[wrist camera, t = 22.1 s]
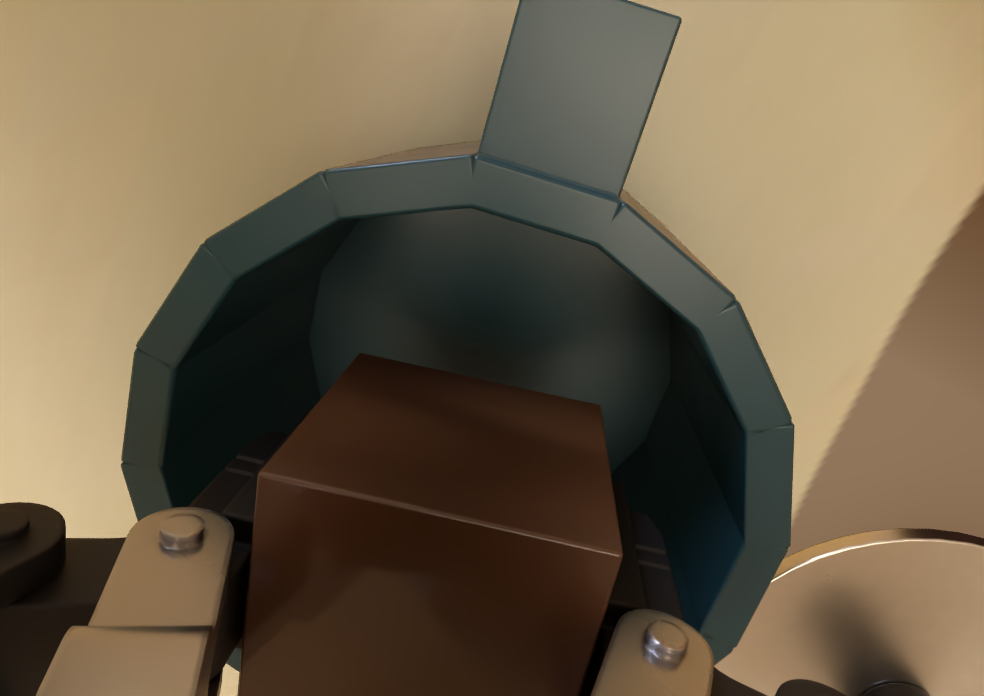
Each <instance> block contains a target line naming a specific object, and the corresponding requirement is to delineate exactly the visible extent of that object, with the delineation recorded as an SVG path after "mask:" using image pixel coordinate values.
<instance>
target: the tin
mask: <svg viewBox="0 0 984 696" xmlns="http://www.w3.org/2000/svg"><path fill="white" fill-rule="evenodd" d="M680 24H681V18H680V17H678V16H675V15H672V14H669V13H666V12H663V11H659V10H656V9H653V8H650V7H647V6H644V5H640V4H637V3H634V2H631V1H628V0H520V1H519V5H518V8H517V12H516V15H515V19H514V23H513V26H512V30H511V34H510V37H509V41H508V44H507V48H506V52H505V55H504V59H503V63H502V66H501V70H500V74H499V77H498V81H497V84H496V88H495V92H494V95H493V99H492V103H491V106H490V110H489V114H488V117H487V121H486V124H485V128H484V132H483V135H482V139H481V141H475V142H463V143H457V144H448V145H439V146H430V147H420V148H416V149H412V150H407V151H403V152H399V153H395V154H390V155H386V156H382V157H377V158H373V159H369V160H364V161H360V162H356V163H351V164H347V165H343V166H338V167H334V168H330V169H326V170H325V171H320V172H318V173H316V174H314V175H313V176H311V177H309V178H308V179H306V180H304V181H303V182H301V183H299V184H297V185H296V186H294V187H292V188H291V189H289V190H287V191H286V192H284V193H282V194H281V195H279V196H277V197H276V198H274V199H272V200H271V201H269V202H267V203H266V204H264V205H262V206H261V207H259V208H257V209H256V210H254V211H252V212H251V213H249V214H247V215H246V216H244V217H242V218H240V219H239V220H237V221H235V222H234V223H232V224H230V225H229V226H227V227H225V228H224V229H222V230H220V231H219V232H217V233H215V234H214V235H212V236H210V237H209V238H207V239H206V240H205V242H204V243H203V244H201V245H200V247H199V248H198V250H197V251H196V253H195V254H194V256H193V257H192V259H191V261H190V262H189V264H188V265H187V267H186V268H185V270H184V271H183V273H182V274H181V276H180V277H179V279H178V281H177V282H176V284H175V285H174V287H173V288H172V290H171V291H170V293H169V294H168V296H167V298H166V299H165V301H164V302H163V304H162V305H161V307H160V308H159V310H158V311H157V313H156V314H155V316H154V318H153V319H152V321H151V322H150V324H149V325H148V327H147V328H146V330H145V331H144V333H143V334H142V336H141V338H140V339H139V341H138V342H137V345H136V347H137V348H136V350H135V352H134V358H133V366H132V375H131V383H130V392H129V400H128V408H127V417H126V425H125V434H124V442H123V450H122V462H123V463H122V464H121V468H122V471H123V475H124V478H125V481H126V484H127V488H128V491H129V494H130V497H131V500H132V504H133V507H134V510H135V513H136V517H137V520H138V522H139V521H140V520H141V519H143V518H145V517H146V516H148V515H150V514H153V513H155V512H158V511H162V510H165V509H170V508H178V507H188V506H189V505H190V504H191V503H192V502H193V501H194V500H195V499H196V498H197V497H198V495H199V494H200V493H201V492H202V491H203V490H204V489H205V488H206V487H207V486H208V485H209V484H210V483H211V482H212V481H213V480H214V479H215V477H216V476H217V475H218V474H219V473H220V472H221V471H222V470H223V471H224V470H225V467H226V466H227V465H228V464H229V463H230V462H231V461H232V460H233V458H235V459H236V455H237V454H238V453H239V452H240V451H241V450H242V449H243V448H244V447H245V446H246V445H247V444H248V443H249V442H250V441H251V440H253V439H255V438H258V437H260V436H262V435H264V434H267V433H269V432H271V431H277V432H281V433H286V434H288V433H289V432H290V431H291V430H292V429H293V428H294V426H295V425H296V424H297V423H298V422H299V420H300V419H301V418H302V417H303V416H304V415H305V414H306V413H307V412H310V411H311V410H312V409H313V408H314V406H315V405H316V404H317V403H318V402H319V400H320V399H321V398H322V397H323V396H324V395H325V393H326V392H327V391H328V390H329V389H330V387H331V386H332V385H333V384H334V383H335V381H336V380H337V379H338V378H339V377H340V376H341V374H342V373H343V372H344V371H345V370H346V368H347V367H348V366H349V365H350V364H351V362H352V361H353V360H354V359H355V358H356V356H357V355H358V354H359V353H364V354H369V355H373V356H378V357H382V358H387V359H391V360H396V361H401V362H405V363H410V364H414V365H419V366H423V367H428V368H433V369H437V370H442V371H446V372H451V373H456V374H460V375H465V376H469V377H474V378H478V379H483V380H488V381H492V382H497V383H501V384H506V385H510V386H515V387H520V388H524V389H529V390H533V391H538V392H542V393H547V394H552V395H556V396H561V397H565V398H570V399H574V400H579V401H584V402H588V403H593V404H597V405H600V406H601V412H602V419H603V425H604V432H605V439H606V445H607V452H608V458H609V465H610V472H611V478H612V480H616V481H621V482H623V483H624V488H625V493H626V499H627V504H628V510H630V511H635V512H639V513H643V514H647V515H648V517H649V518H650V519H651V520H652V521H653V523H654V524H655V525H656V526H657V528H658V529H659V530H660V531H661V532H662V535H663V539H664V543H665V547H666V551H667V553H666V555H667V556H668V559H669V563H670V566H671V569H670V571H671V572H672V574H673V578H674V582H675V586H676V590H677V594H678V598H679V602H680V606H681V610H682V614H683V617H684V621H685V622H686V623H687V624H689V625H690V626H691V627H693V628H694V629H695V630H696V631H697V632H698V633H699V634H700V635H701V636H702V637H703V638H704V639H705V640H706V642H707V643H708V645H709V646H710V648H711V650H712V653H713V656H714V660H715V665H716V664H717V663H719V662H720V661H721V660H722V659H724V658H725V657H726V656H727V655H729V654H730V653H731V652H732V651H733V648H735V647H737V645H738V643H739V641H740V640H741V638H742V636H743V634H744V632H745V630H746V628H747V626H748V624H749V622H750V621H751V619H752V617H753V615H754V613H755V611H756V609H757V607H758V605H759V604H760V602H761V600H762V598H763V596H764V594H765V592H766V590H767V588H768V587H769V585H770V583H771V581H772V579H773V577H774V575H775V573H776V571H777V570H778V568H779V566H780V564H781V562H782V560H783V558H784V556H785V554H786V553H787V549H788V547H790V538H791V509H792V480H793V452H794V424H793V423H792V422H791V415H790V413H789V411H788V409H787V406H786V404H785V402H784V400H783V398H782V395H781V393H780V391H779V389H778V386H777V384H776V382H775V380H774V378H773V375H772V373H771V371H770V369H769V367H768V364H767V362H766V360H765V358H764V355H763V353H762V351H761V349H760V347H759V344H758V342H757V340H756V338H755V336H754V333H753V331H752V329H751V327H750V324H749V322H748V320H747V318H746V316H745V313H744V311H743V309H742V307H741V305H740V303H739V302H738V301H737V300H736V298H735V296H734V294H733V293H732V292H731V291H730V290H729V289H728V288H727V287H726V286H725V285H723V284H722V283H721V282H720V281H719V280H718V279H717V278H716V277H715V276H714V275H713V274H712V273H711V272H710V271H709V270H708V269H707V268H706V267H705V266H704V265H703V264H702V263H701V262H700V261H699V260H698V259H697V258H696V257H695V256H694V255H693V254H692V253H691V252H690V251H689V250H688V249H687V248H686V247H685V246H684V245H683V244H682V243H681V242H680V241H679V240H678V239H677V238H676V237H675V236H674V235H673V234H672V233H671V232H670V231H669V230H668V229H667V228H666V227H665V226H664V225H663V224H662V223H661V222H660V221H659V220H658V219H656V218H655V217H654V216H653V215H652V214H651V213H649V212H648V211H647V210H646V209H645V208H644V207H643V206H641V205H640V204H639V203H638V202H637V201H636V200H634V199H633V198H632V197H631V196H630V195H629V194H628V193H627V192H625V191H624V190H623V186H624V183H625V180H626V178H627V175H628V172H629V169H630V166H631V163H632V161H633V158H634V155H635V152H636V149H637V146H638V143H639V141H640V138H641V135H642V132H643V129H644V126H645V124H646V121H647V118H648V115H649V112H650V109H651V107H652V104H653V101H654V98H655V95H656V92H657V90H658V87H659V84H660V81H661V78H662V75H663V73H664V70H665V67H666V64H667V61H668V58H669V55H670V53H671V50H672V47H673V44H674V41H675V38H676V36H677V33H678V30H679V27H680ZM241 652H242V649H238V648H235V649H234V651H233V652H232V654H231V656H230V657H229V659H228V661H227V662H226V663H227V664H228V665H230V666H231V667H233V668H234V669H236V670H237V671H239V672H240V663H241ZM715 665H714V666H715Z"/></svg>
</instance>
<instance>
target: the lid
mask: <svg viewBox="0 0 984 696" xmlns="http://www.w3.org/2000/svg"><path fill="white" fill-rule="evenodd" d="M714 667H715V668H717V669H718V670H719V671H721V672H722V673H724V674H725V675H727V676H728V677H730V678H732V679H734V680H736V681H738V682H740V683H742V684H744V685H746V686H748V687H750V688H753V689H755V690H757V691H759V692H761V693H763V694H765V695H767V696H775V694H776V692H777V689H778V688H779V687H780V685H781V684H783V683H784V682H786V681H789V680H792V679H807V680H812V681H816V682H819V683H822V684H825V685H827V686H829V687H832V688H834V689H836V690H838V691H839V692H841V693H843V694H845V695H846V696H984V538H980V537H976V536H972V535H968V534H963V533H959V532H951V531H943V530H935V529H903V528H902V529H901V528H899V529H889V530H879V531H869V532H863V533H859V534H853V535H849V536H844V537H839V538H836V539H833V540H830V541H826V542H823V543H820V544H817V545H814V546H811V547H808V548H806V549H804V550H802V551H799V552H797V553H795V554H792V555H790V556H788V557H786V558H784V559H783V560H782V562H781V564H780V566H779V568H778V570H777V571H776V573H775V575H774V577H773V579H772V581H771V583H770V585H769V587H768V588H767V590H766V592H765V594H764V596H763V598H762V600H761V602H760V604H759V605H758V607H757V609H756V611H755V613H754V615H753V617H752V619H751V621H750V622H749V624H748V626H747V628H746V630H745V632H744V634H743V636H742V638H741V640H740V641H739V643H738V645H737V647H735V648H733V651H732V652H731V653H730V654H729V655H727V656H726V657H725V658H724V659H722V660H721V661H720V662H719V663H717V664H716V665H715V666H714Z"/></svg>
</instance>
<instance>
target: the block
mask: <svg viewBox="0 0 984 696" xmlns="http://www.w3.org/2000/svg"><path fill="white" fill-rule="evenodd" d="M622 558H623V551H622V544H621V537H620V531H619V524H618V518H617V511H616V505H615V498H614V491H613V485H612V478H611V472H610V465H609V458H608V452H607V445H606V439H605V432H604V425H603V419H602V412H601V406H600V405H597V404H593V403H588V402H584V401H579V400H574V399H570V398H565V397H561V396H556V395H552V394H547V393H542V392H538V391H533V390H529V389H524V388H520V387H515V386H510V385H506V384H501V383H497V382H492V381H488V380H483V379H478V378H474V377H469V376H465V375H460V374H456V373H451V372H446V371H442V370H437V369H433V368H428V367H423V366H419V365H414V364H410V363H405V362H401V361H396V360H391V359H387V358H382V357H378V356H373V355H369V354H364V353H359V354H358V355H357V356H356V358H355V359H354V360H353V361H352V362H351V364H350V365H349V366H348V367H347V368H346V370H345V371H344V372H343V373H342V374H341V376H340V377H339V378H338V379H337V380H336V381H335V383H334V384H333V385H332V386H331V387H330V389H329V390H328V391H327V392H326V393H325V395H324V396H323V397H322V398H321V399H320V400H319V402H318V403H317V404H316V405H315V406H314V408H313V409H312V410H311V411H310V412H309V414H308V415H307V416H306V417H305V418H304V420H303V421H302V422H301V423H300V424H299V425H298V427H297V428H296V429H295V430H294V431H293V433H292V434H291V435H290V436H289V437H288V439H287V440H286V441H285V442H284V443H283V444H282V446H281V447H280V448H279V449H278V450H277V452H276V453H275V454H274V455H273V456H272V458H271V459H270V460H269V461H268V462H267V464H266V465H265V466H264V467H263V468H262V469H261V471H260V472H259V474H258V481H257V491H256V502H255V513H254V523H253V534H252V545H251V556H250V566H249V577H248V588H247V598H246V609H245V620H244V630H243V641H242V652H241V663H240V673H239V684H238V695H237V696H580V693H581V689H582V686H583V683H584V680H585V677H586V673H587V670H588V667H589V664H590V661H591V657H592V654H593V651H594V648H595V645H596V641H597V638H598V635H599V632H600V629H601V625H602V622H603V619H604V616H605V613H606V609H607V606H608V603H609V600H610V597H611V593H612V590H613V587H614V584H615V581H616V577H617V574H618V571H619V568H620V565H621V561H622Z"/></svg>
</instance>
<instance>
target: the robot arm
mask: <svg viewBox="0 0 984 696" xmlns="http://www.w3.org/2000/svg"><path fill="white" fill-rule="evenodd" d="M308 414H309V412H307V413H306V414H305V415H304V416H303V417H302V418H301V419H300V420H299V422H298V423H297V424H296V425H295V426H294V428H293V429H292V430H291V431H290V432H289V433H288V434H286V433H281V432H277V431H271V432H269V433H267V434H264V435H262V436H260V437H258V438H255V439H253V440H251V441H250V442H249V443H248V444H247V445H246V446H245V447H244V448H243V449H242V450H241V451H240V452H239V453H238V454H237V455H236V459H235V458H233V460H232V461H231V462H230V463H229V464H228V465H227V466H226V467H225V470H224V471H223V470H222V471H221V472H220V473H219V474H218V475H217V476H216V477H215V479H214V480H213V481H212V482H211V483H210V484H209V485H208V486H207V487H206V488H205V489H204V490H203V491H202V492H201V493H200V494H199V495H198V497H197V498H196V499H195V500H194V501H193V502H192V503H191V504H190V505H189V506H188V507H178V508H170V509H165V510H162V511H158V512H155V513H153V514H150V515H148V516H146V517H145V518H143V519H141V520H140V521H139V522H137V523H136V524H135V525H134V526H133V527H132V528H131V530H130V531H129V533H128V535H127V537H126V538H66V525H65V520H64V518H63V516H62V515H61V514H60V513H59V512H58V511H56V510H54V509H53V508H50V507H48V506H45V505H40V504H35V503H21V502H18V503H5V504H0V696H219V695H220V689H221V683H222V672H223V667H224V666H225V664H226V662H227V661H228V659H229V657H230V656H231V654H232V652H233V651H234V649H235V648H238V649H242V641H243V630H244V620H245V609H246V598H247V588H248V577H249V566H250V556H251V545H252V534H253V523H254V513H255V502H256V491H257V481H258V474H259V472H260V471H261V469H262V468H263V467H264V466H265V465H266V464H267V462H268V461H269V460H270V459H271V458H272V456H273V455H274V454H275V453H276V452H277V450H278V449H279V448H280V447H281V446H282V444H283V443H284V442H285V441H286V440H287V439H288V437H289V436H290V435H291V434H292V433H293V431H294V430H295V429H296V428H297V427H298V425H299V424H300V423H301V422H302V421H303V420H304V418H305V417H306V416H307V415H308ZM612 485H613V491H614V498H615V505H616V511H617V518H618V524H619V531H620V537H621V544H622V551H623V558H622V561H621V565H620V568H619V571H618V574H617V577H616V581H615V584H614V587H613V590H612V593H611V597H610V600H609V603H608V606H607V609H606V613H605V616H604V619H603V622H602V625H601V629H600V632H599V635H598V638H597V641H596V645H595V648H594V651H593V654H592V657H591V661H590V664H589V667H588V670H587V673H586V677H585V680H584V683H583V686H582V689H581V693H580V696H767V695H765V694H763V693H761V692H759V691H757V690H755V689H753V688H750V687H748V686H746V685H744V684H742V683H740V682H738V681H736V680H734V679H732V678H730V677H728V676H727V675H725V674H724V673H722V672H721V671H719V670H718V669H717V668H715V667H714V665H715V660H714V656H713V653H712V650H711V648H710V646H709V645H708V643H707V642H706V640H705V639H704V638H703V637H702V636H701V635H700V634H699V633H698V632H697V631H696V630H695V629H694V628H693V627H691V626H690V625H689V624H687V623H686V622H685V621H684V617H683V614H682V610H681V606H680V602H679V598H678V594H677V590H676V586H675V582H674V578H673V574H672V572H671V571H670V569H671V566H670V563H669V559H668V556H667V555H666V553H667V551H666V547H665V543H664V539H663V535H662V532H661V531H660V530H659V529H658V528H657V526H656V525H655V524H654V523H653V521H652V520H651V519H650V518H649V517H648V515H647V514H643V513H639V512H635V511H630V510H628V504H627V499H626V493H625V488H624V483H623V482H621V481H616V480H612ZM775 696H846V695H845V694H843V693H841V692H839V691H838V690H836V689H834V688H832V687H829V686H827V685H825V684H822V683H819V682H816V681H812V680H807V679H792V680H789V681H786V682H784V683H783V684H781V685H780V687H779V688H778V689H777V692H776V694H775Z"/></svg>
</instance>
